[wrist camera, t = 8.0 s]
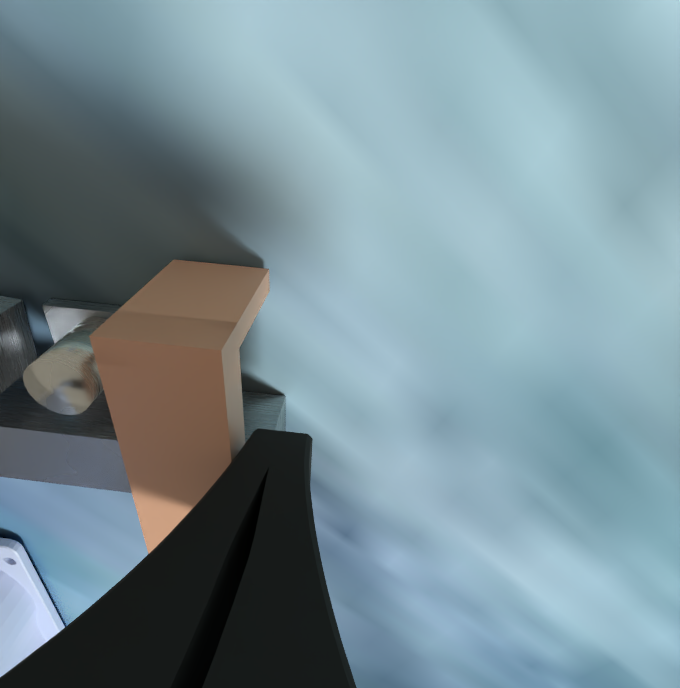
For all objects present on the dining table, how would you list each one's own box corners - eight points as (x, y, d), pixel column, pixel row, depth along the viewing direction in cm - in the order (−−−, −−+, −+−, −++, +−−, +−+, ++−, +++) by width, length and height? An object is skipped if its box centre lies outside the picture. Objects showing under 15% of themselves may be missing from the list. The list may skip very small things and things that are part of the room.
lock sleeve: (273, 471, 15) (241, 580, 12) (202, 462, 15) (152, 568, 12) (269, 269, 11) (221, 350, 8) (173, 259, 11) (89, 336, 8)
